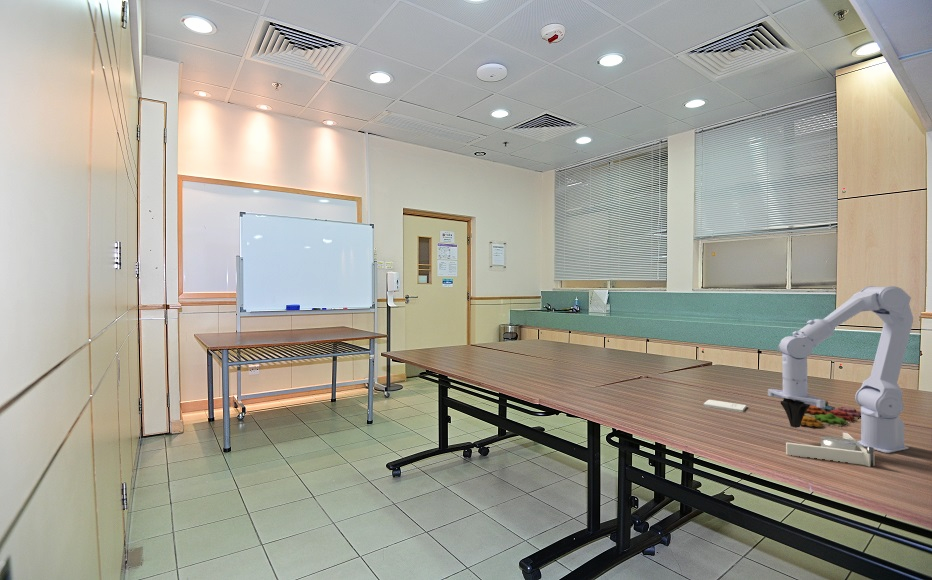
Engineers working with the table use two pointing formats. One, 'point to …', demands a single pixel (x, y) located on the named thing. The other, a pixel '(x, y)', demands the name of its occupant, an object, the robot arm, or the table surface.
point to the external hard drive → (725, 405)
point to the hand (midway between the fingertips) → (795, 426)
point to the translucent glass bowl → (837, 443)
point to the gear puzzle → (829, 415)
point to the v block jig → (834, 452)
